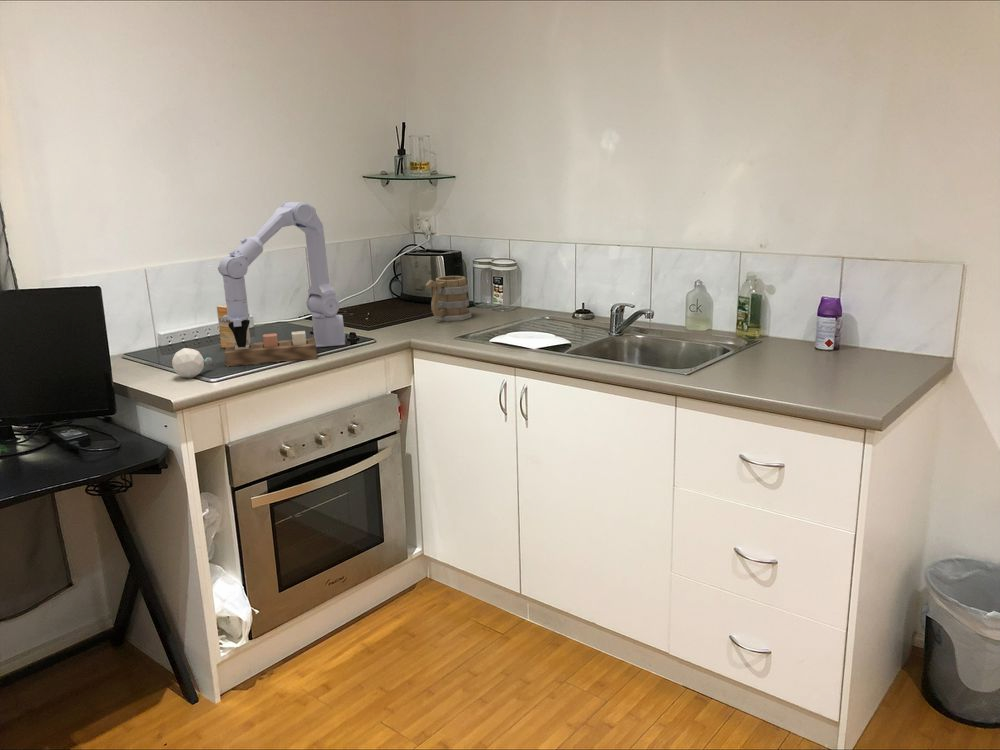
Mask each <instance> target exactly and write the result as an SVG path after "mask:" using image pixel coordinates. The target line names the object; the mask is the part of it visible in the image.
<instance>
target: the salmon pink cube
mask: <svg viewBox="0 0 1000 750" xmlns="http://www.w3.org/2000/svg"><path fill="white" fill-rule="evenodd" d="M278 341H279V340H278V333H277V332H276V333H264V334H263V335H262V342H264V348H266V347H278Z"/></svg>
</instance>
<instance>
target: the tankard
mask: <svg viewBox="0 0 1000 750" xmlns="http://www.w3.org/2000/svg"><path fill="white" fill-rule="evenodd" d="M425 287H426V289H431V288H432V295H431V297H432V298H431V302H430V305H431V306H430V307H431V308H430V309H431V312H432V314H433V317H434V319H435V320H436V321H441V322H459V321H460V322H461V321H465V320H468V319H471V318H472V312H471V311H470V309H468V307H469V306H470V305H469V304H470V299H469V298H468V295H467V294H468V293H469V285H468V283H467V277H465V276H464V275H463V276H461V275H447V276H446V275H444V276H439V277H436V278H435V281H434V280H433V279H429V280H428V281H427V282H426V284H425Z"/></svg>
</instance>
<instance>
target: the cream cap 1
mask: <svg viewBox="0 0 1000 750" xmlns="http://www.w3.org/2000/svg"><path fill="white" fill-rule="evenodd" d="M242 349H250V348H249V345H246V347H238V346H235V350H242Z"/></svg>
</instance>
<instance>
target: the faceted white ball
mask: <svg viewBox="0 0 1000 750" xmlns="http://www.w3.org/2000/svg"><path fill="white" fill-rule="evenodd" d="M171 363H172V368H173V370H174V372H175V373H176V375H178V376H180V377H182V378H188V379H189V378H191V379H192V378H194V377H196V376H197V375H200V374H201V372H202V371H203V369H204V367H205V366H208V365H211V364H213V359H212V357H206V358H205V359H204V358H203V355H202V354H201V353H200V351H199V350H196V349H195V348H194V349H193V348H185V347H183V348H181V349H180V350H177V352H175V353H174V355H173V358H172V360H171Z"/></svg>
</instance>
